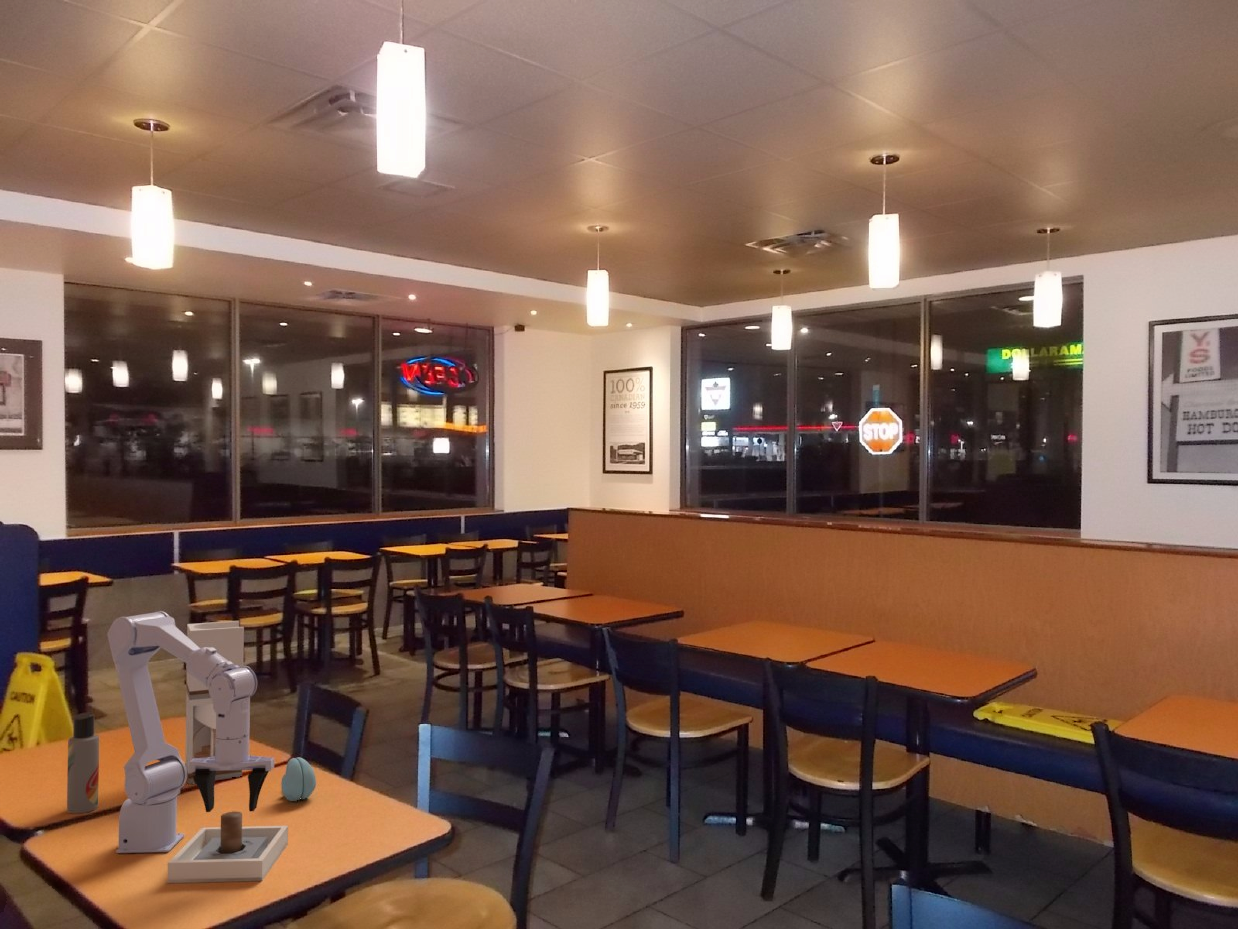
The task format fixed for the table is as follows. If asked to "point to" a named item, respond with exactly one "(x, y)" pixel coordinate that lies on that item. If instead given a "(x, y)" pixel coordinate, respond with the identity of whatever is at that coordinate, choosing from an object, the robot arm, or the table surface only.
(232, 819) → the peg
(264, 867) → the box
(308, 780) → the toy flower bud
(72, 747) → the lotion bottle
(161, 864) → the table surface
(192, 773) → the tall white shelf
